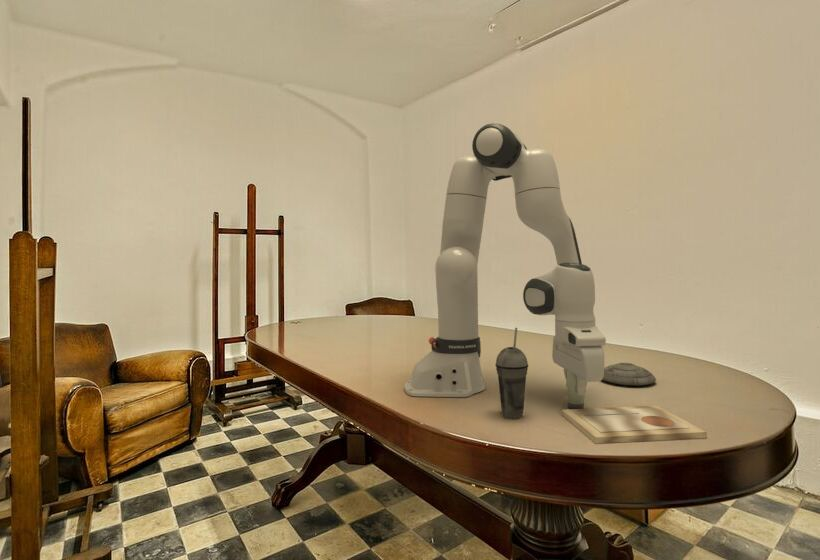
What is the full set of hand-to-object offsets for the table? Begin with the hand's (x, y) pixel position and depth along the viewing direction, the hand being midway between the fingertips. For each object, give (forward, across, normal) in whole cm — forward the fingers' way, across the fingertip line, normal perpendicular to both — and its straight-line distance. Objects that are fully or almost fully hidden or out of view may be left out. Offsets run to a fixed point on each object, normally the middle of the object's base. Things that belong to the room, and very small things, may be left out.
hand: (575, 390), depth 104 cm
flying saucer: (+5, -21, +24) cm, 32 cm away
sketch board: (+4, +12, +6) cm, 14 cm away
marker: (+4, 0, 0) cm, 4 cm away
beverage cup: (+4, +3, -16) cm, 17 cm away
